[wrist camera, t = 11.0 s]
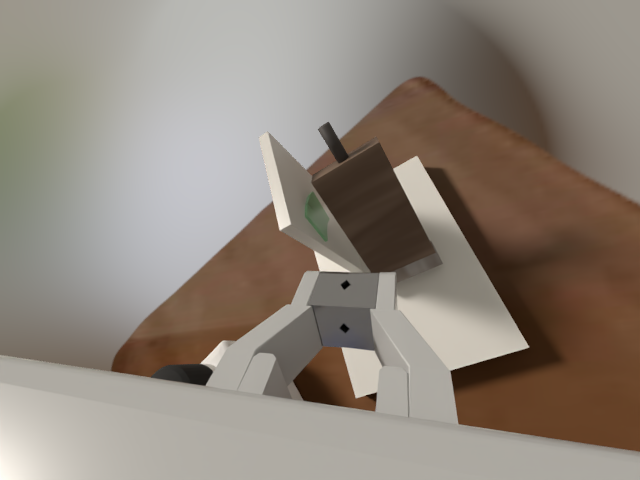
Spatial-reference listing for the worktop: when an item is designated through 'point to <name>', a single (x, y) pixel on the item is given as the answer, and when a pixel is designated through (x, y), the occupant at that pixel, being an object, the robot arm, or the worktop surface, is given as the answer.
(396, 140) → the worktop surface
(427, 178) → the stand
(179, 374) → the medicine bottle
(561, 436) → the worktop surface
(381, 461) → the robot arm
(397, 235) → the lever
